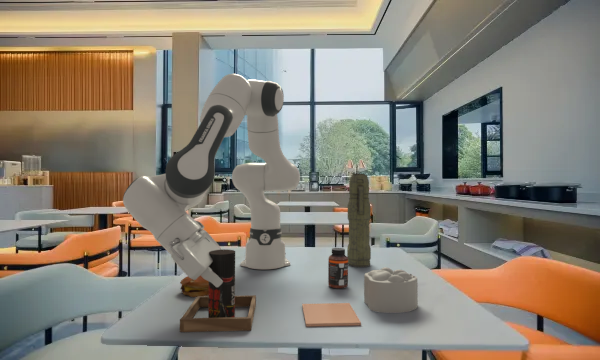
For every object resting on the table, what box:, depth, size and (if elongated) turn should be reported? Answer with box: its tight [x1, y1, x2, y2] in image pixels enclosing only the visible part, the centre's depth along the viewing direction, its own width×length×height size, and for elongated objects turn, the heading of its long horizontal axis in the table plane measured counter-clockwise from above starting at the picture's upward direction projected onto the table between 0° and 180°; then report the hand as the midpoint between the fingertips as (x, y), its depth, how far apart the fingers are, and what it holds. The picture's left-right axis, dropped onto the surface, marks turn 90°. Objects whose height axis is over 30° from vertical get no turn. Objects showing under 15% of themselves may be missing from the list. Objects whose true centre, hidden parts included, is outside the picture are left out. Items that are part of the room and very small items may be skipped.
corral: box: [179, 294, 257, 333], centre depth 76 cm, size 15×15×2 cm
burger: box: [179, 275, 209, 298], centre depth 94 cm, size 10×9×5 cm
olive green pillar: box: [346, 173, 372, 268], centre depth 128 cm, size 9×12×35 cm
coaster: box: [302, 302, 362, 328], centre depth 78 cm, size 12×12×1 cm
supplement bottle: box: [327, 247, 349, 290], centre depth 100 cm, size 6×6×11 cm
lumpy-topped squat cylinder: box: [363, 266, 419, 314], centre depth 85 cm, size 10×13×9 cm
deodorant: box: [207, 249, 236, 318], centre depth 76 cm, size 6×6×15 cm
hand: (224, 278), depth 76 cm, fingers open, 8 cm apart
